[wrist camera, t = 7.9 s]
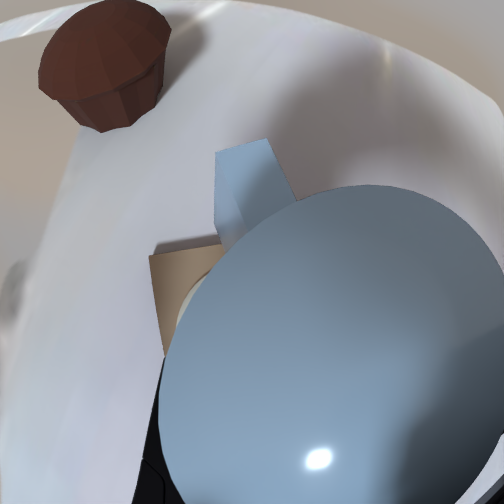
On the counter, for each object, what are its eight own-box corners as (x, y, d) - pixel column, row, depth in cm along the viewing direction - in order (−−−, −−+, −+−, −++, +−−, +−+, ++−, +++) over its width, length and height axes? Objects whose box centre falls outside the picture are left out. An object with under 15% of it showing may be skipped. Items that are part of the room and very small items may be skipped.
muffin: (127, 163, 23) (90, 83, 13) (43, 127, 23) (-3, 63, 13) (198, 69, 26) (198, -13, 16) (113, 47, 25) (95, -22, 16)
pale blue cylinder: (340, 371, 15) (528, 429, 4) (229, 421, 14) (269, 601, 2) (280, 225, 17) (396, 63, 5) (166, 267, 15) (58, 139, 4)
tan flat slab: (438, 214, 26) (457, 204, 23) (463, 344, 23) (484, 345, 20) (151, 258, 22) (142, 249, 19) (184, 430, 19) (181, 446, 16)
